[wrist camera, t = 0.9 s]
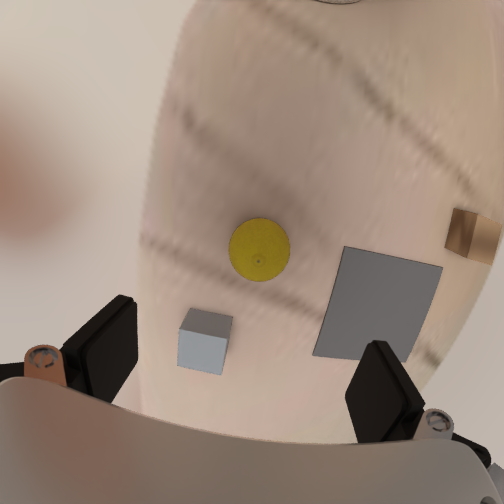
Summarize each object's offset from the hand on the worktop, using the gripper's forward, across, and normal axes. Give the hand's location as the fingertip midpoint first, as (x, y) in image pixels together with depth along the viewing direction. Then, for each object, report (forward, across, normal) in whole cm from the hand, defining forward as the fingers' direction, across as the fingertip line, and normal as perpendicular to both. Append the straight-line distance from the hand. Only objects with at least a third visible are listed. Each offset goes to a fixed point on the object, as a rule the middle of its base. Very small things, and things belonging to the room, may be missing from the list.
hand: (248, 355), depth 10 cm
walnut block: (+20, -25, -6) cm, 33 cm away
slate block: (+20, +4, +12) cm, 24 cm away
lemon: (+20, 0, 0) cm, 20 cm away
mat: (+20, -16, +6) cm, 26 cm away
